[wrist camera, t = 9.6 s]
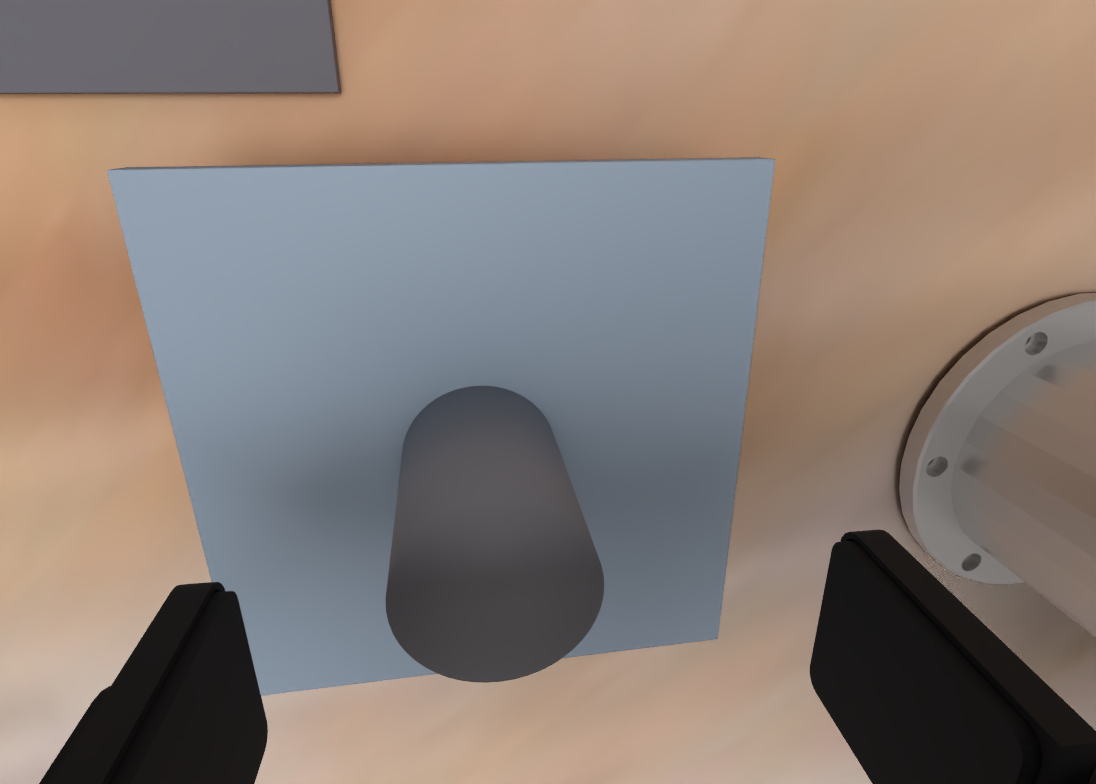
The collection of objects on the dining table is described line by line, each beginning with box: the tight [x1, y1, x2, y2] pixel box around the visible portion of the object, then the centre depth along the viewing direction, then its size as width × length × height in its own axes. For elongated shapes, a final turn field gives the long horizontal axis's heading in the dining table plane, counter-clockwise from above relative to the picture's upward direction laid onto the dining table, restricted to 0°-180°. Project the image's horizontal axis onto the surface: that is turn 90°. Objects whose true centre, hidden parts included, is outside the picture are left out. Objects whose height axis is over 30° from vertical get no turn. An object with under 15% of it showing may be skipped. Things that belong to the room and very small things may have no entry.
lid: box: [107, 157, 775, 695], centre depth 13 cm, size 13×13×6 cm
